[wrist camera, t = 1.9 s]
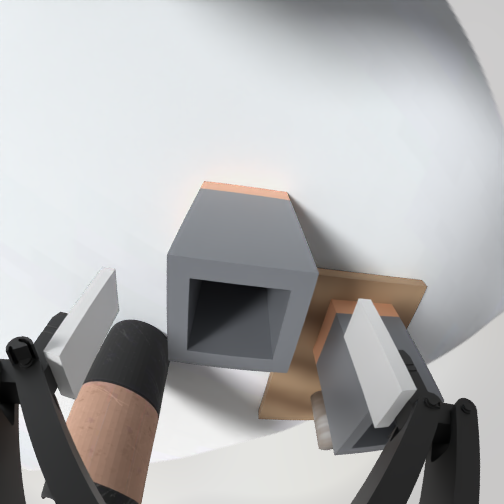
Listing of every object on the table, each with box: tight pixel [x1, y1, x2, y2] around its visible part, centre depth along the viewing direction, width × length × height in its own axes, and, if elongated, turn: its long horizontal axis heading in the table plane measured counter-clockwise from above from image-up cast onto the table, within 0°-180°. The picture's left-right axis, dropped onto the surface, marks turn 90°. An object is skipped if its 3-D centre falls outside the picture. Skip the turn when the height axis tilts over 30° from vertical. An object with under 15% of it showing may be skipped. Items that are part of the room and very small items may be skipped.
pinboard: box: [258, 268, 427, 450], centre depth 29 cm, size 22×13×8 cm, turn 172°
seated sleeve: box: [313, 299, 444, 455], centre depth 23 cm, size 6×6×12 cm
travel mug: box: [41, 320, 169, 504], centre depth 22 cm, size 8×8×20 cm
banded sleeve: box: [167, 181, 319, 373], centre depth 20 cm, size 6×6×12 cm
